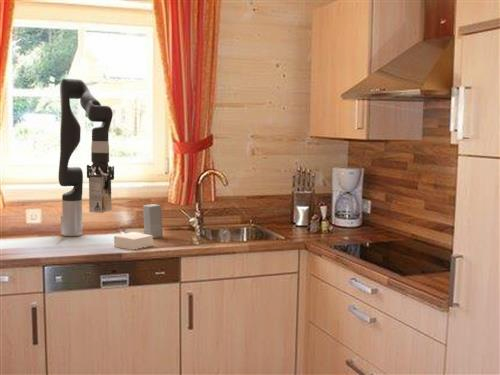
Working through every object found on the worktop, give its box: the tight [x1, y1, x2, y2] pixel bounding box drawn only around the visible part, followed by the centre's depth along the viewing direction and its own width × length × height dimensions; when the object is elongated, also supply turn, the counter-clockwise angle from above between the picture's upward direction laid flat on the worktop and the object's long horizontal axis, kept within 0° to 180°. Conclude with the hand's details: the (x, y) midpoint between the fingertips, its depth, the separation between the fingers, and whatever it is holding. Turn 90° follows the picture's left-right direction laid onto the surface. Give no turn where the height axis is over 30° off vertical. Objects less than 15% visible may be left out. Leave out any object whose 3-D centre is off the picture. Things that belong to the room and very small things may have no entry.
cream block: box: [113, 231, 154, 251], centre depth 261 cm, size 12×12×5 cm
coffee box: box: [88, 175, 112, 214], centre depth 255 cm, size 9×6×16 cm
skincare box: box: [142, 203, 164, 239], centre depth 283 cm, size 8×7×16 cm
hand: (100, 188), depth 255 cm, fingers closed on coffee box, 7 cm apart
